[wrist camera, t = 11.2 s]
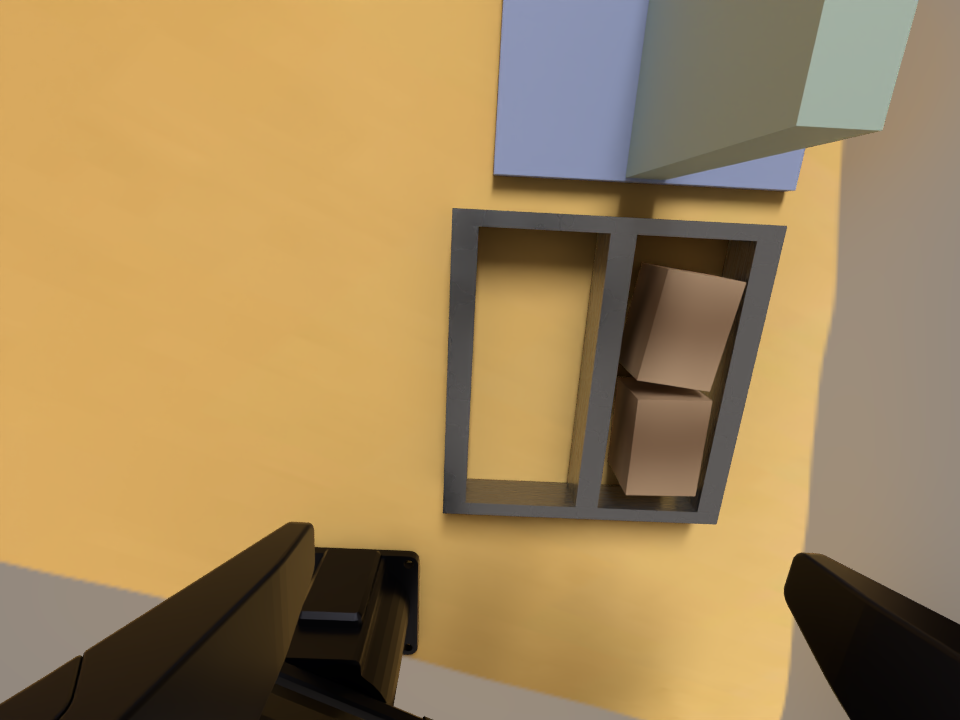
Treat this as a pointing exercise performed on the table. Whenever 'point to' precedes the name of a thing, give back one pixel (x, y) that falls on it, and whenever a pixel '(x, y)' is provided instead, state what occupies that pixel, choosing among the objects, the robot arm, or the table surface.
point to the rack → (606, 369)
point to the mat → (589, 98)
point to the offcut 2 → (657, 437)
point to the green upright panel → (760, 79)
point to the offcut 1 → (678, 326)
